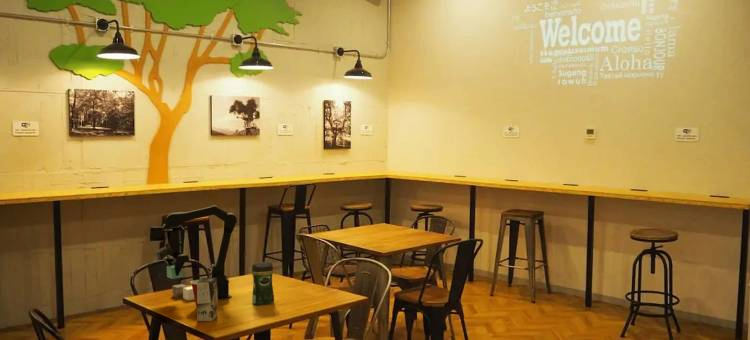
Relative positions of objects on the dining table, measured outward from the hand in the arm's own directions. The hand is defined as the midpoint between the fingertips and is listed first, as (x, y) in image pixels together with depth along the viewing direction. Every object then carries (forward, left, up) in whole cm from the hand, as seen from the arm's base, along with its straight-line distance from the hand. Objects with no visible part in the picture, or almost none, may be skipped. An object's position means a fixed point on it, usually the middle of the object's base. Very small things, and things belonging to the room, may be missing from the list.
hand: (174, 274), depth 310 cm
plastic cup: (-20, -4, -12) cm, 24 cm away
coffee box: (-36, +2, -12) cm, 38 cm away
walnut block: (+6, -5, -12) cm, 14 cm away
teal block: (0, 0, -1) cm, 1 cm away
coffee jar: (-30, -28, -12) cm, 43 cm away
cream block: (-1, -7, -12) cm, 14 cm away
